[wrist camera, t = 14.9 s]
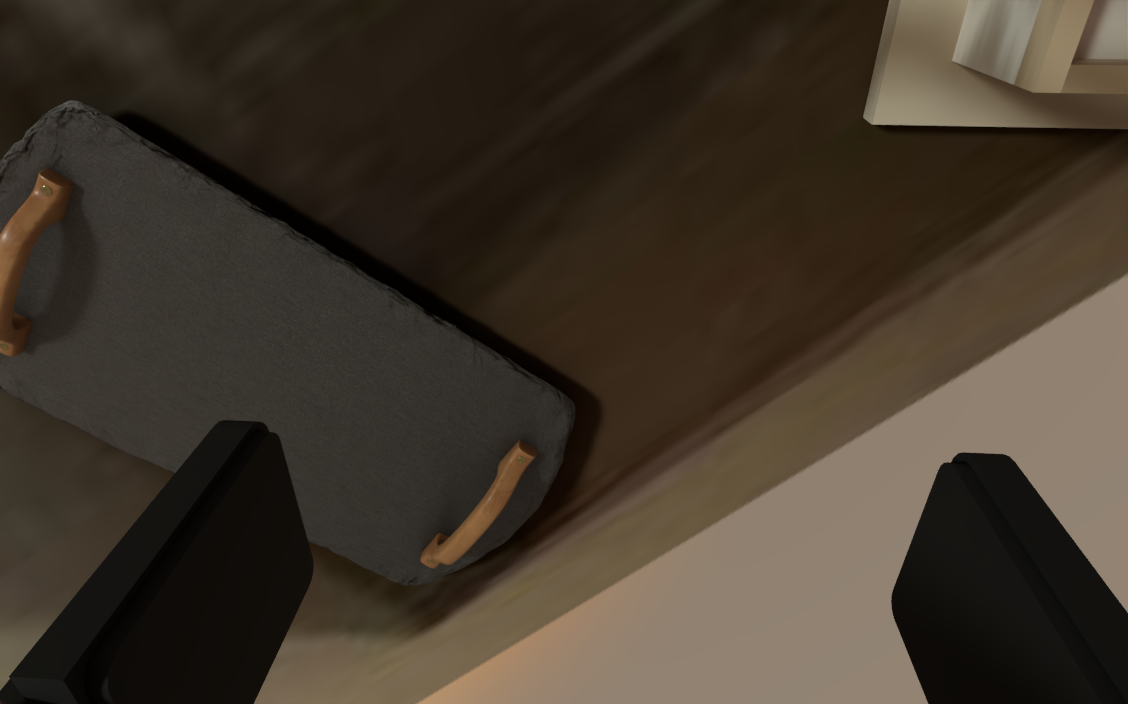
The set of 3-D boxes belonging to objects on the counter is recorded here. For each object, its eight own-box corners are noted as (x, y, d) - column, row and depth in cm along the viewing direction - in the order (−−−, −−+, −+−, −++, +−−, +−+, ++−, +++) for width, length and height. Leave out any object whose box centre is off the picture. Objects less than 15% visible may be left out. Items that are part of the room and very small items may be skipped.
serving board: (618, 402, 47) (618, 462, 41) (451, 581, 57) (434, 646, 52) (44, 47, 37) (-52, 66, 32) (-28, 341, 48) (-109, 393, 42)
